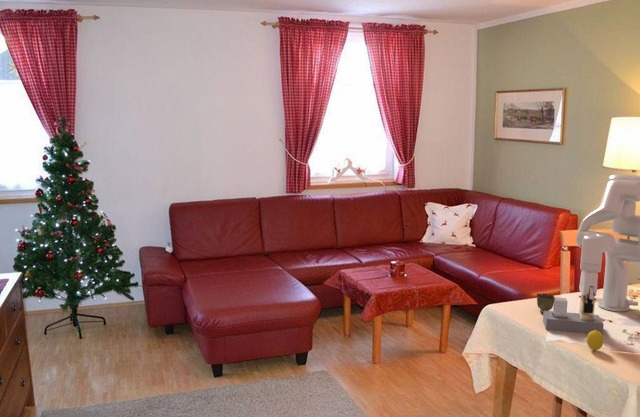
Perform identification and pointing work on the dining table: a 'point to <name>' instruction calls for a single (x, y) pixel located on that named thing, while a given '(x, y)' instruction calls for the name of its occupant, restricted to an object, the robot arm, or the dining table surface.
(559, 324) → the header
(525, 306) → the dining table surface
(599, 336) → the lemon
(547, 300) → the cup
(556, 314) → the metal plug
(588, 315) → the birch plug
